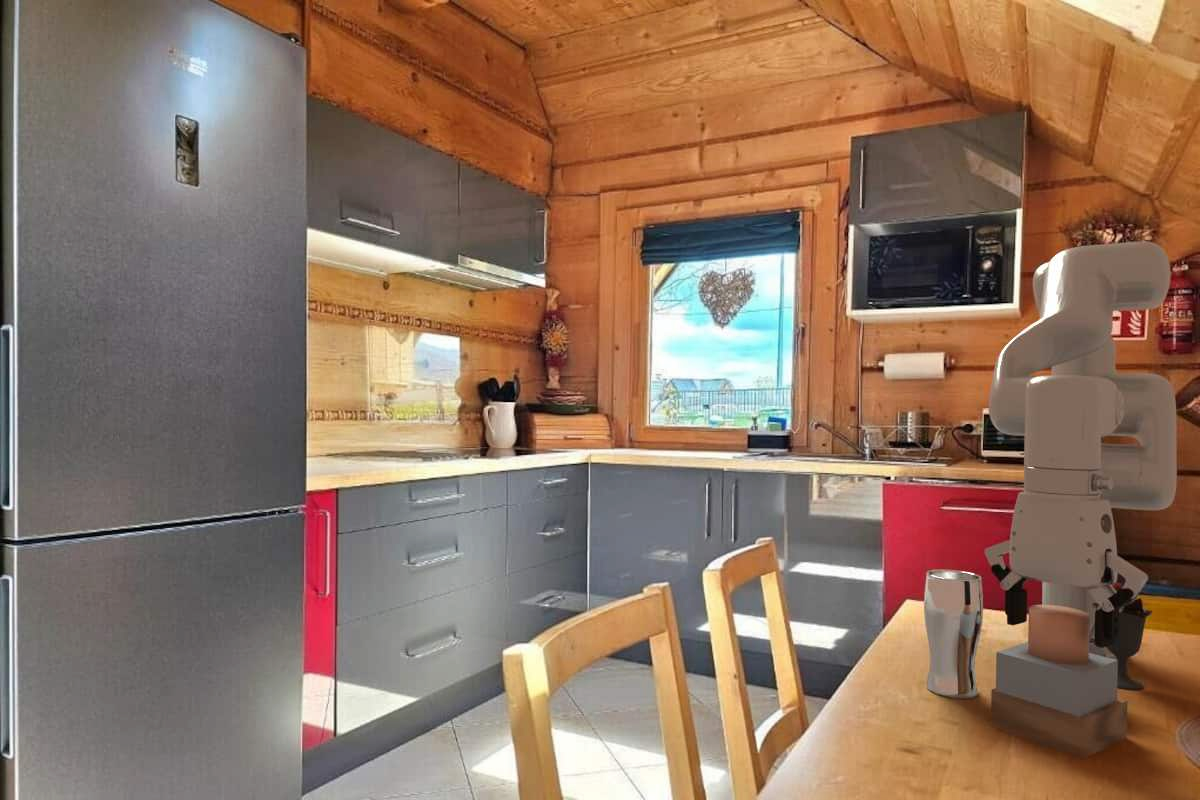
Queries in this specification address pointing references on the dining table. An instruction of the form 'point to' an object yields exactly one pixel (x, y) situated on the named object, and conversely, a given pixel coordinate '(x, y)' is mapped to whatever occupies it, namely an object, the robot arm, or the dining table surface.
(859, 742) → the dining table surface
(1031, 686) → the slate top block
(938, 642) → the beer glass
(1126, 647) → the sundae
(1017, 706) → the walnut base block
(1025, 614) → the robot arm
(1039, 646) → the peach rounded cylinder
